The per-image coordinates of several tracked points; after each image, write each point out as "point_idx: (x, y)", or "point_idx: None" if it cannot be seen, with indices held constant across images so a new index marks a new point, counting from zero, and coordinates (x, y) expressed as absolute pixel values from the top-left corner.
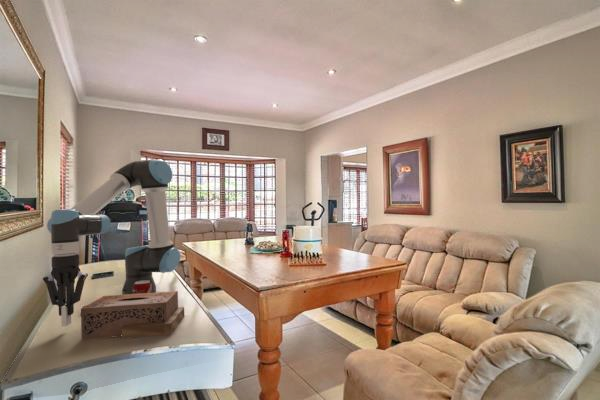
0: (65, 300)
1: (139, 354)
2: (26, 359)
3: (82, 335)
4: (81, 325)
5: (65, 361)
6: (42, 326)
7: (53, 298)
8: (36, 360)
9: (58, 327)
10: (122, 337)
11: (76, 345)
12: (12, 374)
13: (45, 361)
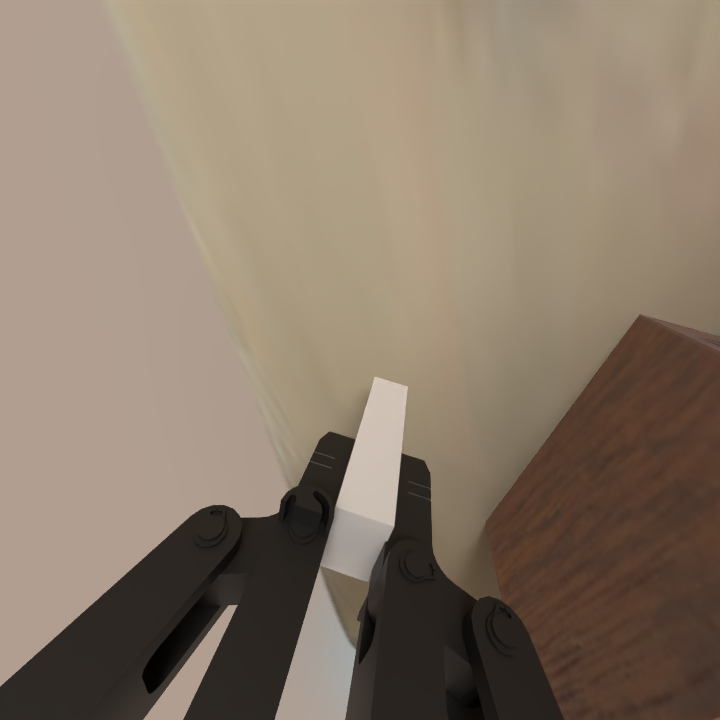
0: (313, 580)
1: None
2: None
3: (494, 541)
4: (502, 601)
5: None
6: (163, 137)
7: (159, 670)
8: (368, 591)
9: (302, 240)
10: None
11: (471, 563)
12: (341, 622)
13: None
